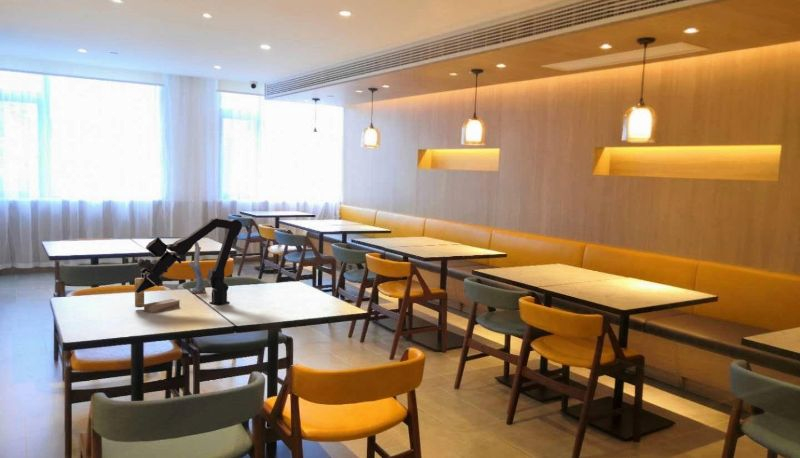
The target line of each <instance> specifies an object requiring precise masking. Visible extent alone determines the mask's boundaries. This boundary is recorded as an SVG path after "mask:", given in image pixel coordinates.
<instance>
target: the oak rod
mask: <svg viewBox="0 0 800 458" xmlns="http://www.w3.org/2000/svg"><path fill="white" fill-rule="evenodd" d="M143 281H144V278H141V277H136V278H134V307H135V308H144V304H145V290H144V291H141V292H139V293H137V292H136V290H137V289H138V287H139V286H140V285H141V284H142V282H143Z"/></svg>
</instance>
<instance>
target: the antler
mask: <svg viewBox="0 0 800 458" xmlns="http://www.w3.org/2000/svg"><path fill="white" fill-rule="evenodd" d="M201 250H202V248H201V247H200V244H199V243H198V241H197V242H196V243H195V244H194V255H193V256H194V257H193V261H189V266H190V267H191V269H192V271H193V274H194V276H195V279H196V280H195V281H196V282H195V283H196V284H195V286H194V287H192V290H191V293H192V294H198V293H199V294H200V293H205V292H207V291H206V286H205V285H204V282H205V281H204V278H203V273H202V269H201V266H200V265H201V264H200V255H201V254H200V253H201Z"/></svg>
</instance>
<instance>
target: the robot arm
mask: <svg viewBox="0 0 800 458" xmlns="http://www.w3.org/2000/svg"><path fill="white" fill-rule="evenodd" d="M217 228H220V229H221V228H222V229H224V237H223V240H222V244H221V246H220V247H221V248H220V249H219V253H218V255H217V259H216V262H215V265H214V267H213V268H212V269H211V268H209V269H208V273H207V275H206V278H207V279H206V282H207V284H208V285H209V286H210V287H211V289H212V290H211V301H209V304H212V305H215V306H216V305H218V306H221V305H225V304H230V301H228V290H229V285H228V284H227V283H225V281H224V280H225V269H226V265H227V264H228V259H229V257H230V253H231V251H232V248H233V245H234V241H235V239H236V238H237V237H238V236H239V234H240V232H241V230H242V229H243V224H242V222H241V221H240V219H236V218H229V219H220V218H217V217H212V218H210V220H209V221H208V222H205V224H203V225H201V227H199V228H198V229H196V230H195V231H193V232H192V233H191V234H189V235H188V236H184V237H183V238H180V239H177V240H176V241H174V242H173V243H168V244H166V243H165V242H163V240H162V239H161V238H160V237H159V236H157V237H156V238H154V239H153V240H151V241H149V242H148V244H147V245H146V246H145V249H146V250H147V251H148V252H149V253H151V254H152V255H153V256H154V257H155V258H157V257H159V258H158V259H157V260H154V261H153V262H151V259H148V258H146V259H144V258H142V257H139V258H138V261H137V264H136V265H137V267H140V268H141V269H140V272H141V273H140V278H144V281H143V282H142V284H141V285H140V286H139V287H138V289H137V290H136V292H137V293H139V292H141V291H144V292H145V291H146V290H149V289H150V288H153V287H156V286H157V287H160V285H162V282H163V281H162V279H161V277H162V276H163V275H164V274H165V273H168V270H169V269H170V268H171V267H172V266H173V265H174V264H175V263H176V262H177V263H178V264H182V257H181V256H184V255H186V254H187V253H188V252H189V251H191V249H192V248H193V247H194V246H195V243H196V242H198V241H200V240H201V239H203V238H204V237H206V236H207V235H208V234H209V233H211V232H212V231H214V230H216V229H217ZM169 251H170V252H169ZM176 254H177V255H176ZM178 255H180V256H178Z"/></svg>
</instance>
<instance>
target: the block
mask: <svg viewBox="0 0 800 458" xmlns="http://www.w3.org/2000/svg"><path fill="white" fill-rule="evenodd" d="M177 308H180V300H179V299H174V298H169V299H164V300H163V299H162V300H159V301H155V302H154V301H153V302H150V303H144V307H143V312H144V313H145V312H146V313H151V314H153V313H159V312H162V311H163V312H164V311H167V310H172V309H177Z"/></svg>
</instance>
